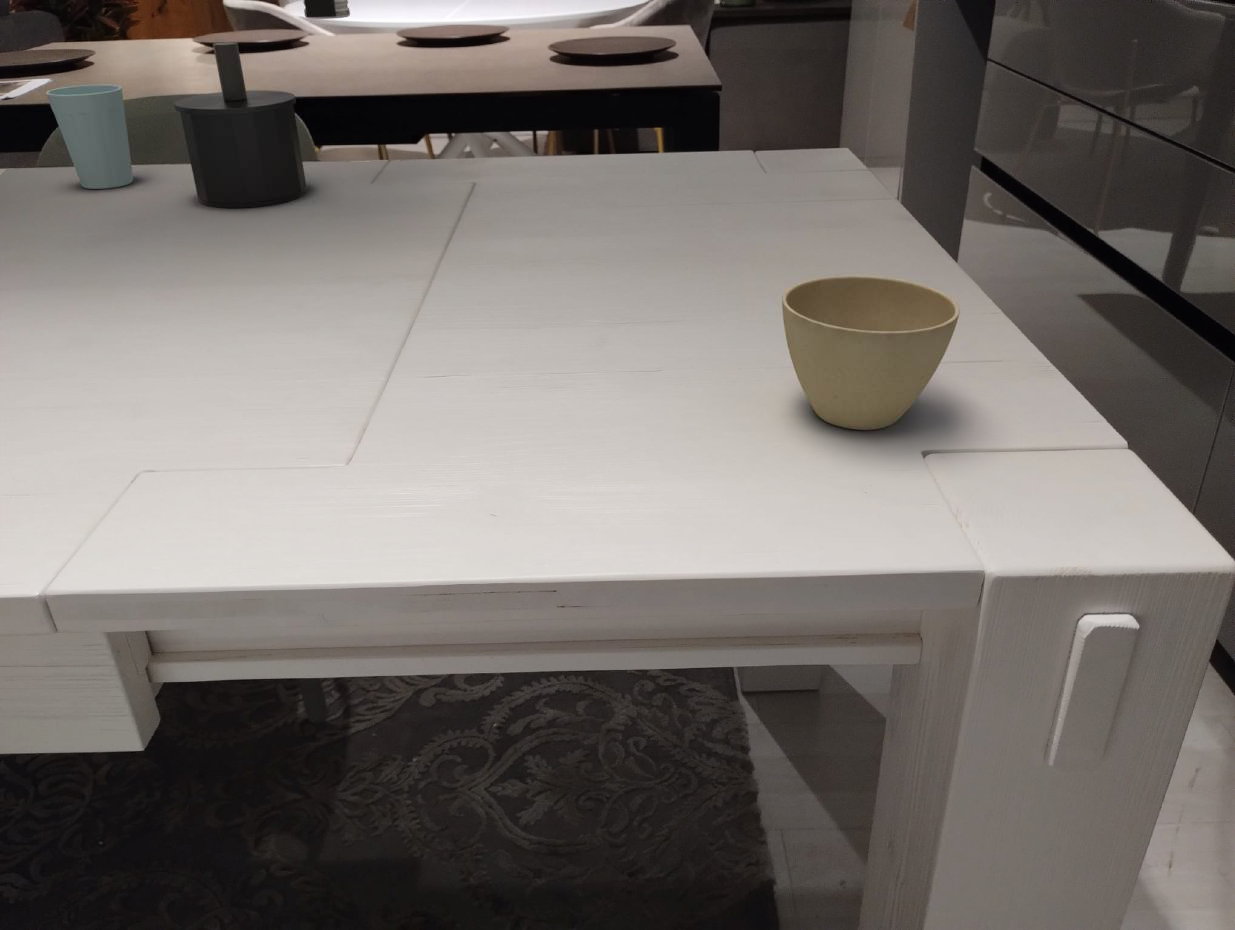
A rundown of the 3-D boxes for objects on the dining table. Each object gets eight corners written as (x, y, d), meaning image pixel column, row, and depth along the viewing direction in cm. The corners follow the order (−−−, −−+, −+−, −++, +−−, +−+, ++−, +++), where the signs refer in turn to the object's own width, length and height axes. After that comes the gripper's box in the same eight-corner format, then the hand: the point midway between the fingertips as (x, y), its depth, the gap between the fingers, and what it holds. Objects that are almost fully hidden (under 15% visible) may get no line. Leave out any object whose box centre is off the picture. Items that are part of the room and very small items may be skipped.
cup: (58, 185, 118) (33, 90, 113) (123, 173, 123) (101, 82, 118) (89, 195, 113) (64, 97, 108) (154, 182, 118) (133, 88, 113)
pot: (182, 209, 107) (162, 115, 103) (218, 183, 117) (201, 97, 113) (290, 207, 107) (274, 113, 103) (317, 182, 117) (304, 95, 113)
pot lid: (158, 122, 103) (142, 51, 99) (200, 102, 113) (187, 37, 110) (278, 120, 103) (266, 49, 99) (309, 100, 113) (299, 36, 110)
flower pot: (946, 458, 57) (966, 338, 53) (767, 441, 59) (775, 325, 55) (938, 385, 65) (954, 278, 62) (781, 373, 67) (788, 269, 64)
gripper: (304, -291, 82) (345, 22, 94) (352, -259, 98) (382, 6, 109) (212, -289, 82) (264, 23, 94) (274, -258, 98) (312, 7, 109)
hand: (327, 13), depth 101 cm, fingers closed on chess piece, 4 cm apart
